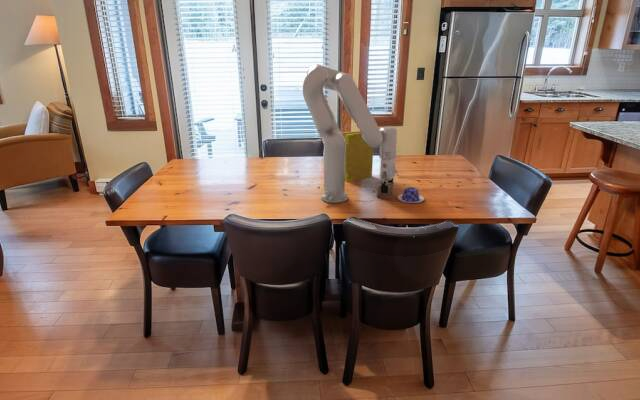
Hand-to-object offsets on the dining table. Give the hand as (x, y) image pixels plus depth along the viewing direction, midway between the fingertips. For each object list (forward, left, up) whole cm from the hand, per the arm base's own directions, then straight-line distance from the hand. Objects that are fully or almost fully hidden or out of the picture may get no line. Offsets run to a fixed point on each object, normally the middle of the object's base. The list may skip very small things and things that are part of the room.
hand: (386, 189), depth 176 cm
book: (+21, +22, -4) cm, 30 cm away
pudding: (+1, -11, -4) cm, 12 cm away
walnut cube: (0, +1, -3) cm, 3 cm away
